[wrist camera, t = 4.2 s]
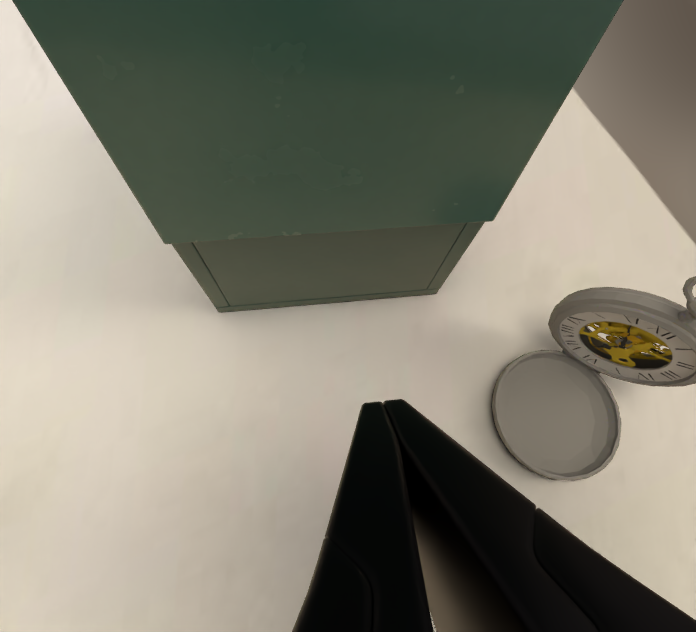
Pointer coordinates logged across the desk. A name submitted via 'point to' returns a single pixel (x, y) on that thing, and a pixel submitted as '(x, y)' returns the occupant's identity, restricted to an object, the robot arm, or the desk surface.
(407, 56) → the lid
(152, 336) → the desk surface
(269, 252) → the panel
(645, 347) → the pocket watch
